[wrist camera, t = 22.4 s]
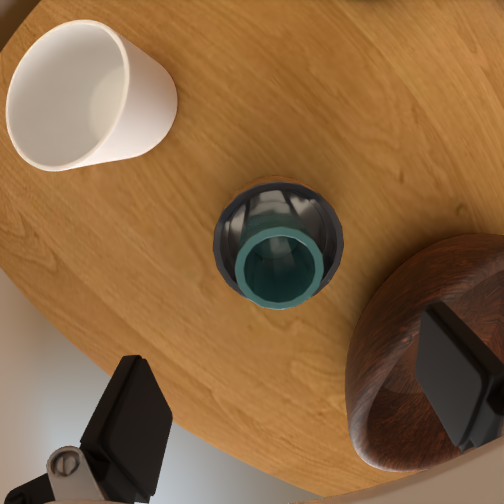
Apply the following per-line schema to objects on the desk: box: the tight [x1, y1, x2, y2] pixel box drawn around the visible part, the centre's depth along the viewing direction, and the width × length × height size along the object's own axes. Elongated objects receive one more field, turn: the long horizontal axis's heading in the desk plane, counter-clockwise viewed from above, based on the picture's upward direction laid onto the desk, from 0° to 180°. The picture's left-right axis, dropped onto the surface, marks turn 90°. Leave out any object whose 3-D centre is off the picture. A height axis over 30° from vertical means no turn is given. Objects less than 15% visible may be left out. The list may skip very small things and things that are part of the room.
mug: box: [6, 20, 178, 171], centre depth 18 cm, size 9×12×11 cm
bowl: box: [213, 175, 344, 299], centre depth 24 cm, size 9×9×4 cm
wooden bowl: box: [345, 233, 504, 472], centre depth 24 cm, size 25×25×10 cm
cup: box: [235, 202, 324, 310], centre depth 22 cm, size 5×5×8 cm
